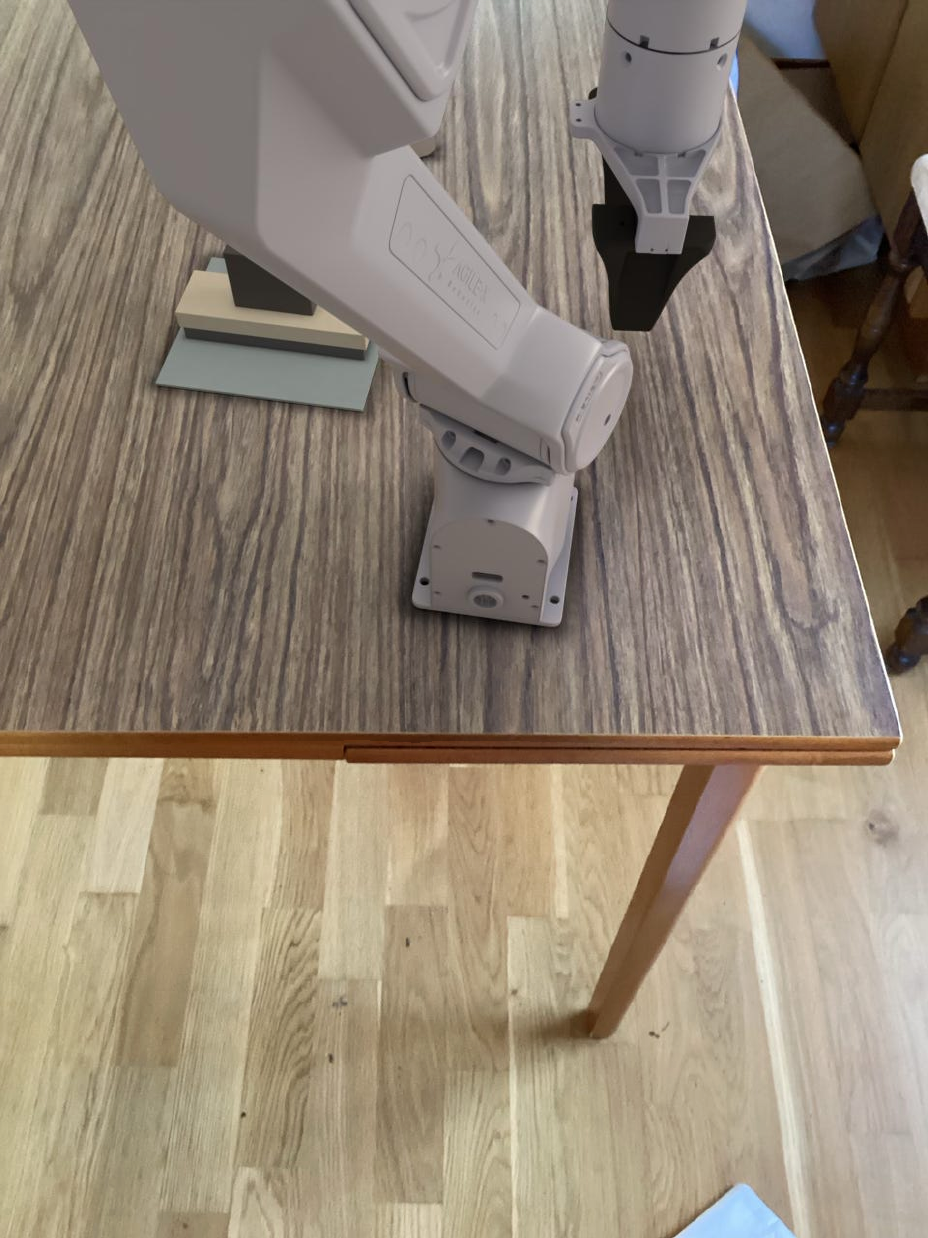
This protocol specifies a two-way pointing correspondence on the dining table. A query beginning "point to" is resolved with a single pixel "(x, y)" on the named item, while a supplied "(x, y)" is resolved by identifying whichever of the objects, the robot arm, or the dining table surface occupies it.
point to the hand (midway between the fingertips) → (628, 275)
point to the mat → (268, 370)
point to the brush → (261, 313)
